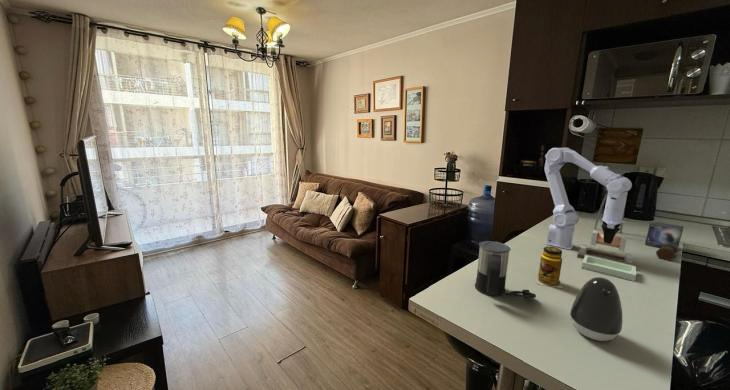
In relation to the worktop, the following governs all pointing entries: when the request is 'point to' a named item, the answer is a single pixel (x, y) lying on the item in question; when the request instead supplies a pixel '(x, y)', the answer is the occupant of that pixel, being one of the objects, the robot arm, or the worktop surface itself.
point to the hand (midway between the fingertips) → (607, 241)
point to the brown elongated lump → (667, 252)
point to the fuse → (599, 239)
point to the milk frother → (495, 270)
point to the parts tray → (609, 267)
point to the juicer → (601, 210)
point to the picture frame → (663, 234)
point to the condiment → (550, 267)
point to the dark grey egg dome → (598, 310)
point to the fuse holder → (605, 255)
